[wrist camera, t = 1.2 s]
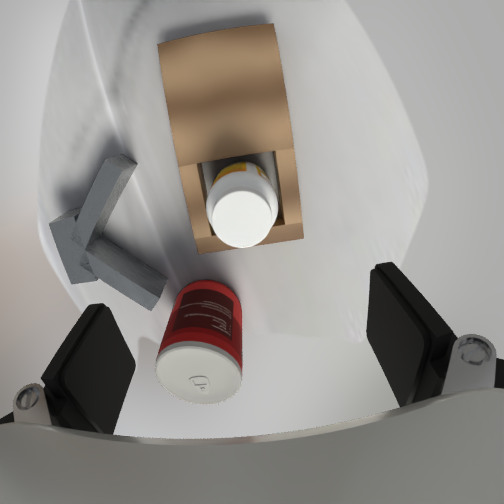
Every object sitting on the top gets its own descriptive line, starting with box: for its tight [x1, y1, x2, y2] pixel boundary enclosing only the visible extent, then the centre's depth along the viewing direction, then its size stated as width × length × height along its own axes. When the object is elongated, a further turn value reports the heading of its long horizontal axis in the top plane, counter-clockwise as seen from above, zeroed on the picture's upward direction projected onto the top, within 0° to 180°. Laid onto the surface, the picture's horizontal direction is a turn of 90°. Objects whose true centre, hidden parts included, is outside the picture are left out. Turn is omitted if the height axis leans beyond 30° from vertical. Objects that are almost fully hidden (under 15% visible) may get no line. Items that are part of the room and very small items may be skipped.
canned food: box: [155, 280, 242, 405], centre depth 29 cm, size 8×8×11 cm
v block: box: [49, 154, 168, 311], centre depth 28 cm, size 10×16×4 cm, turn 9°
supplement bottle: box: [206, 161, 278, 248], centre depth 24 cm, size 5×5×10 cm
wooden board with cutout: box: [157, 23, 304, 254], centre depth 25 cm, size 20×10×2 cm, turn 9°
